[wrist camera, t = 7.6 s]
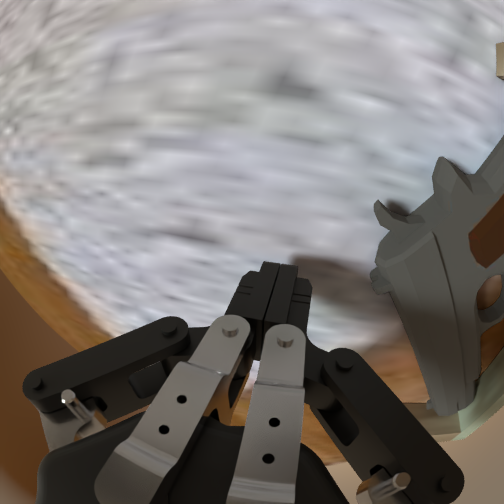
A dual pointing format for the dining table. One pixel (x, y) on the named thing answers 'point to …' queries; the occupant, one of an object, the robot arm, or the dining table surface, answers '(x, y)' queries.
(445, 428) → the bay
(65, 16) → the dining table surface
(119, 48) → the dining table surface
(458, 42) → the dining table surface
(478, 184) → the handgun
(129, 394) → the robot arm
